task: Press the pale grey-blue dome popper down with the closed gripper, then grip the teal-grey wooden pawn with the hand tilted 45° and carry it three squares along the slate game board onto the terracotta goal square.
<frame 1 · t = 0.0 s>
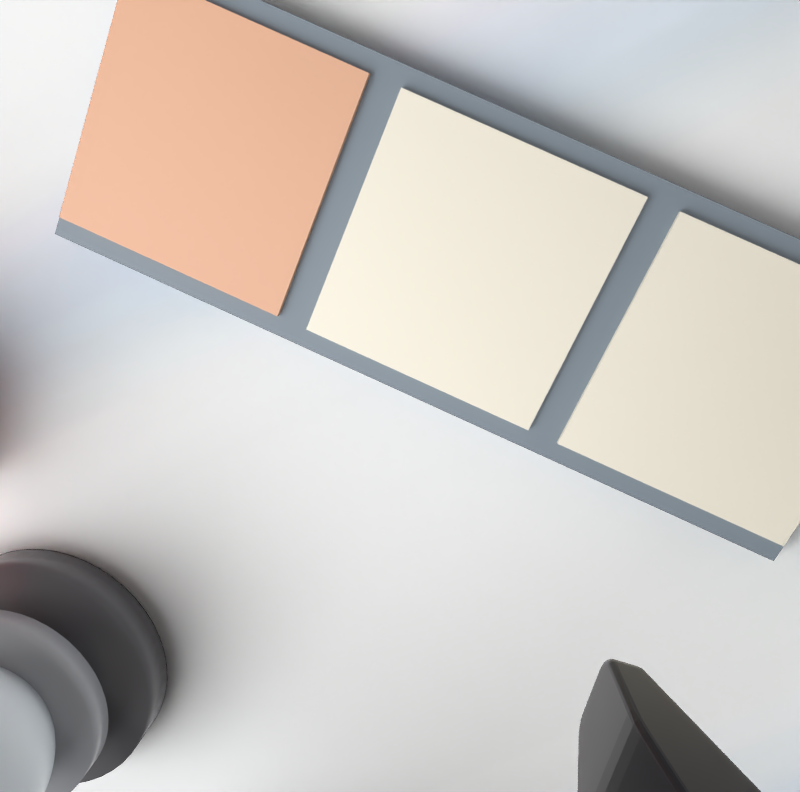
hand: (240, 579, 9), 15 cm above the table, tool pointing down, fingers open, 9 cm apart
game board: (469, 264, 22), on the table
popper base: (55, 656, 28), on the table
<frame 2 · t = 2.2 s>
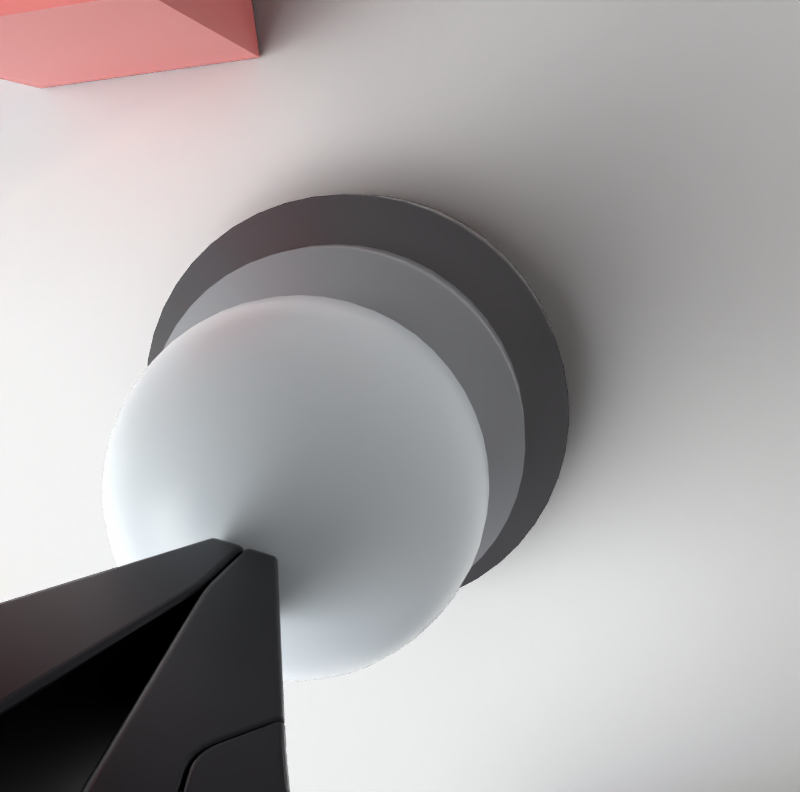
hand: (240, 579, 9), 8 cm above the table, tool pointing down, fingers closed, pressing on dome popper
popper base: (362, 398, 17), on the table
dome popper: (302, 482, 12), point 5 cm above the table, slide at 0.4 cm, touching gripper
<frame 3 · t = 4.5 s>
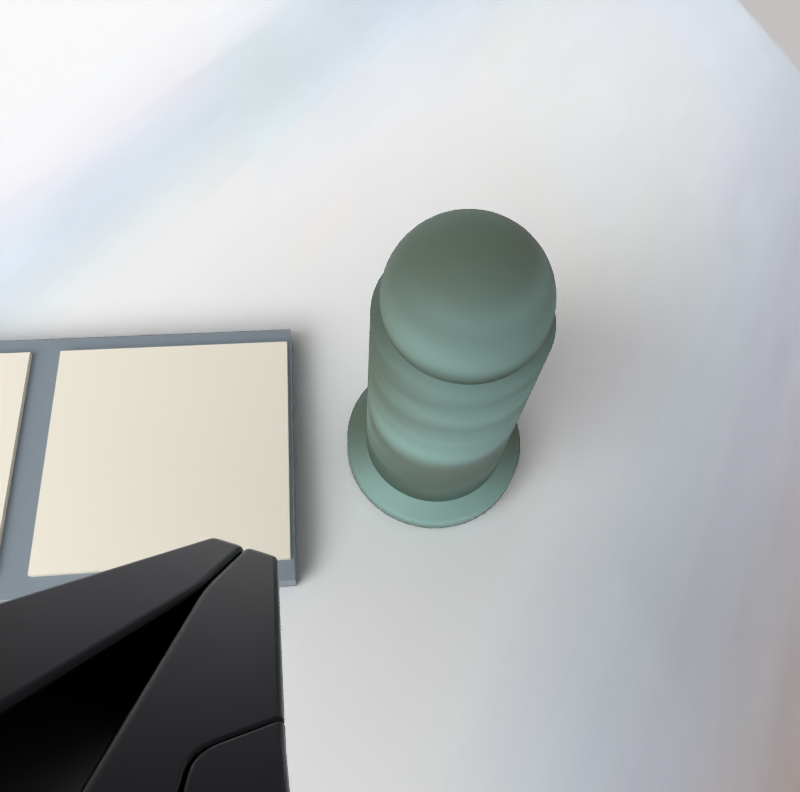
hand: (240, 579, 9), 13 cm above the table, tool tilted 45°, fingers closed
game pawn: (431, 446, 24), on the table
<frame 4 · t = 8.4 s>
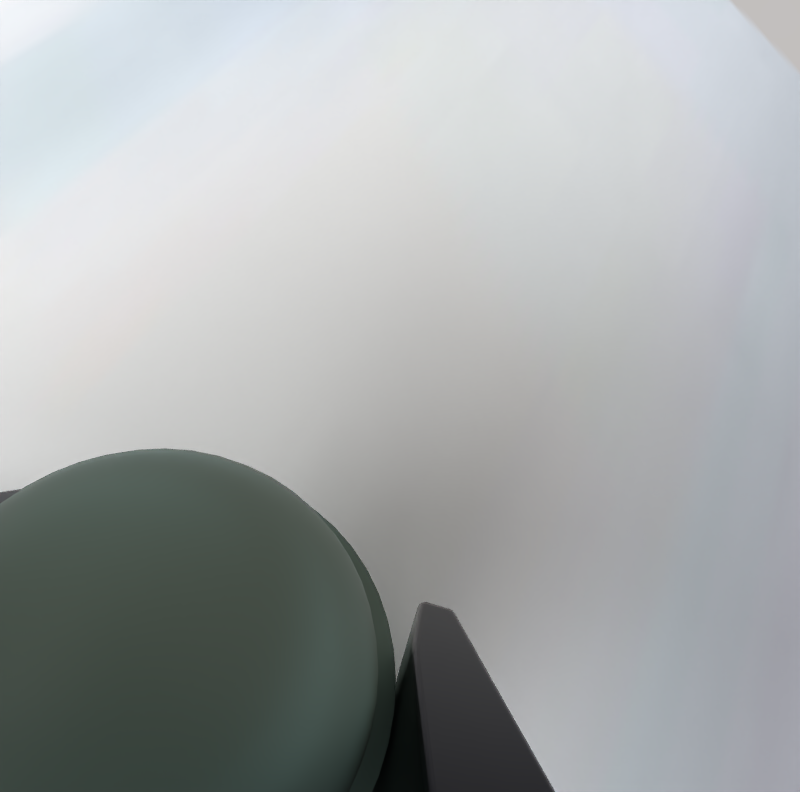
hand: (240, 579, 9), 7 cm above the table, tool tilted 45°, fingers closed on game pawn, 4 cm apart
game pawn: (254, 735, 14), on the table, touching gripper
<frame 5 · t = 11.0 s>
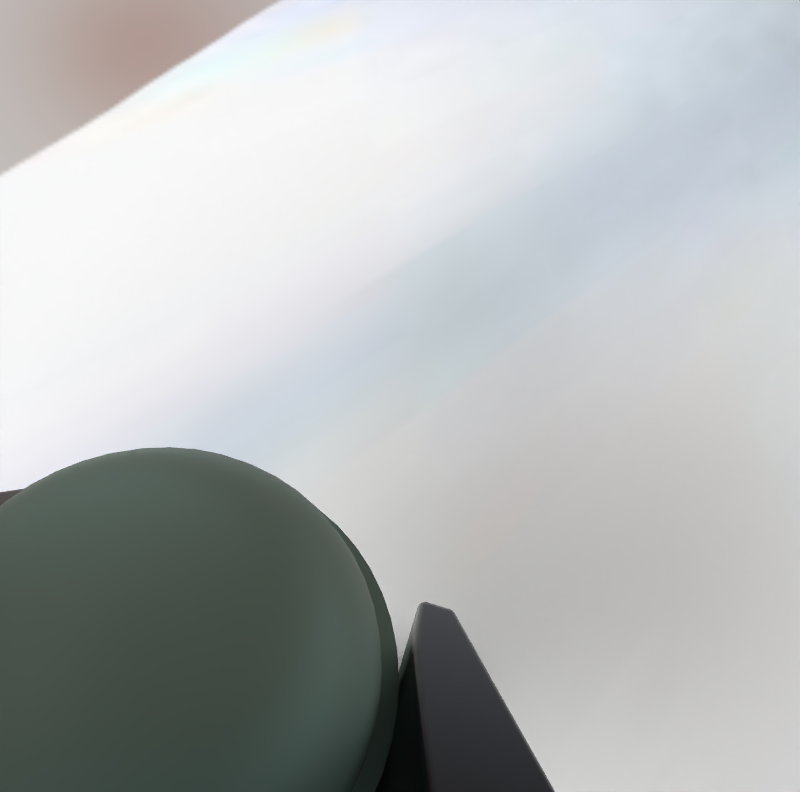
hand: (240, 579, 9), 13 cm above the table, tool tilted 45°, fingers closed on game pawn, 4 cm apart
game pawn: (256, 734, 14), point 6 cm above the table, touching gripper
when the fingers open (9 cm above the table, at t = 13.9 s): game pawn stays where it is, resting on game board.
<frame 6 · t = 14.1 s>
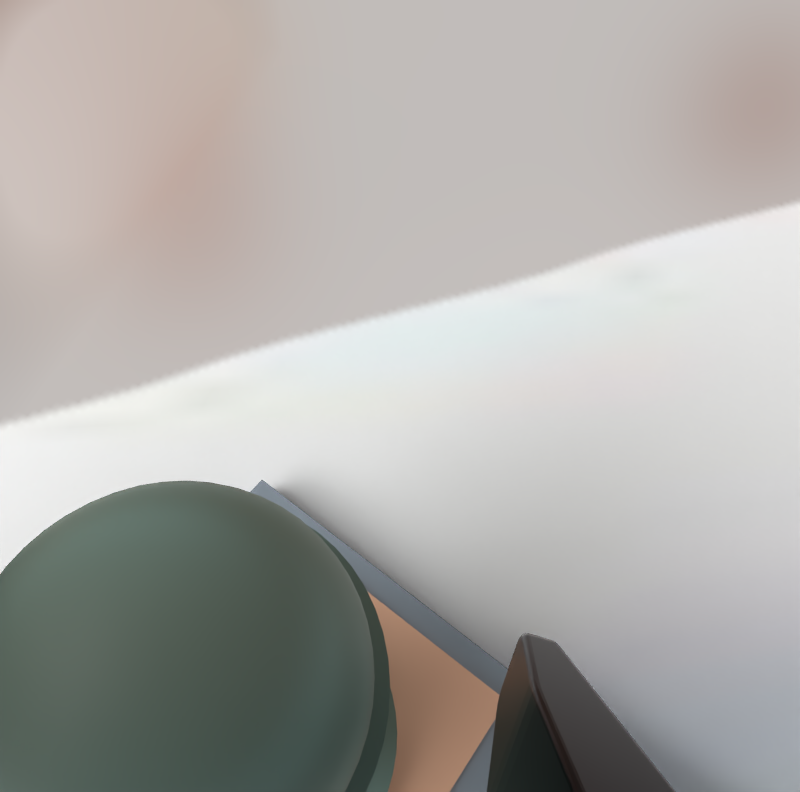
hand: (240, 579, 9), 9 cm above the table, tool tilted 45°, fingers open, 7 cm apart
game pawn: (257, 737, 15), point 1 cm above the table, touching game board
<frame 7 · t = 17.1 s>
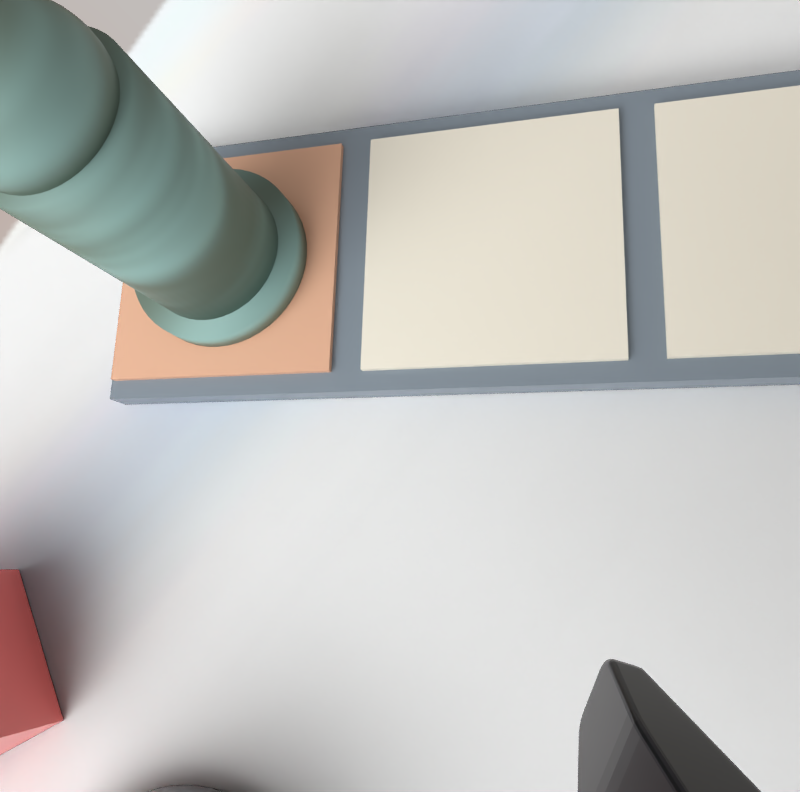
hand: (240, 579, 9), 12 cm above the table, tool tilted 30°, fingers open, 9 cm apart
game pawn: (224, 262, 23), point 1 cm above the table, touching game board
game board: (493, 253, 22), on the table
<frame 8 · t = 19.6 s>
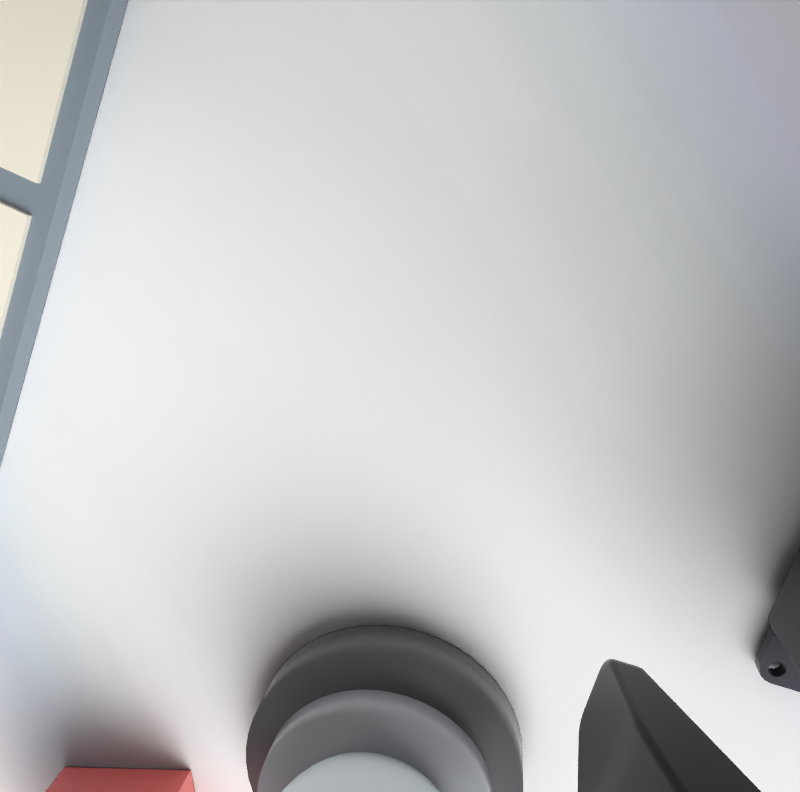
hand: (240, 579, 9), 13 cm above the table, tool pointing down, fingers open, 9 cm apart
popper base: (388, 742, 25), on the table
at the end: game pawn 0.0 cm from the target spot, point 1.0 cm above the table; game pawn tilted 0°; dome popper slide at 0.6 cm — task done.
